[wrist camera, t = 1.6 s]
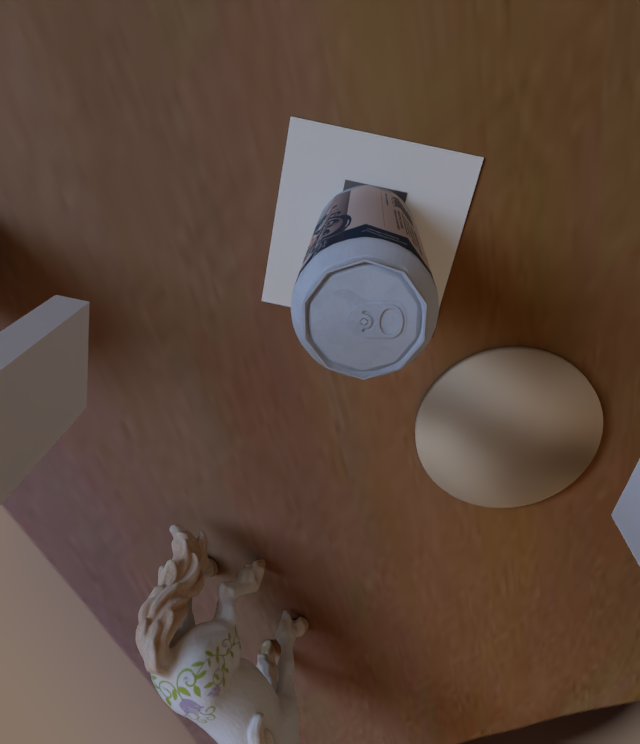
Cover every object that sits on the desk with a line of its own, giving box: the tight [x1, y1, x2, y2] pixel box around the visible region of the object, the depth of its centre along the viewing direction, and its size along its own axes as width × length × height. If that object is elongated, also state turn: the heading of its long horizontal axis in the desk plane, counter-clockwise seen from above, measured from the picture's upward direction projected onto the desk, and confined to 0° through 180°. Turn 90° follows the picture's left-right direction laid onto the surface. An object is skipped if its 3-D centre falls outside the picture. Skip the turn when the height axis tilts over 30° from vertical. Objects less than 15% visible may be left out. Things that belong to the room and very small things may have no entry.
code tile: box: [262, 117, 484, 307], centre depth 30 cm, size 9×9×1 cm
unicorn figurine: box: [136, 524, 308, 744], centre depth 35 cm, size 7×20×13 cm, turn 48°
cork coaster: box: [415, 346, 603, 508], centre depth 34 cm, size 10×10×1 cm
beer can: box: [291, 185, 439, 380], centre depth 24 cm, size 5×5×12 cm
